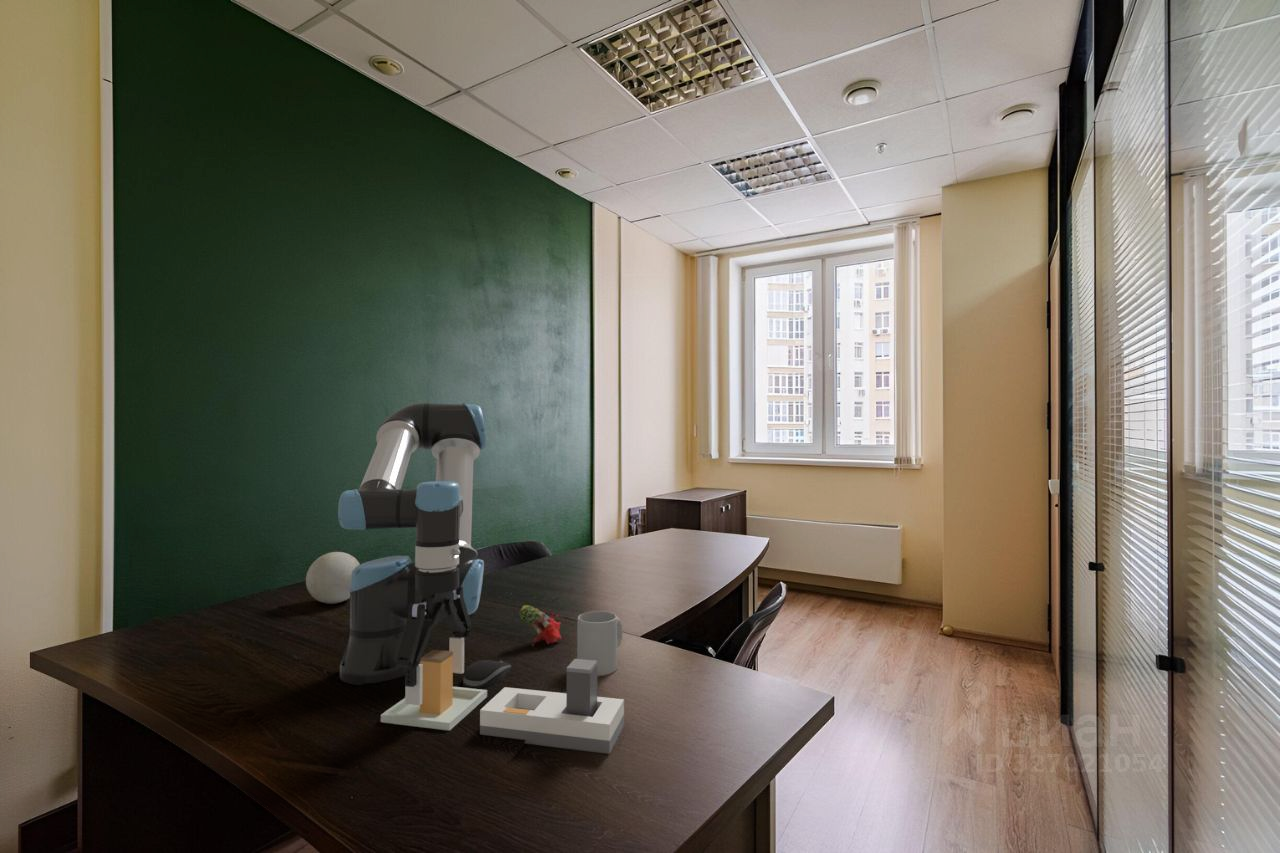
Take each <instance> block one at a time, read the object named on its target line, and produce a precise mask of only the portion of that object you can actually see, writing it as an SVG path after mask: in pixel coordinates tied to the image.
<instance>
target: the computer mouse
mask: <svg viewBox="0 0 1280 853" xmlns="http://www.w3.org/2000/svg"><path fill="white" fill-rule="evenodd" d="M511 669H512V665H511V664H510V663H508V662H504V661H503V660H502V659H500V660H499V661H497V660H489V659H485V660H478V661H475V662H473V663H471V664H470V665H469V666H468V667H467V669H466V670H465V671H464V674H463V675H464V676H463V679H462V685H463V686H464V688H472V689H482V688H486V687H490V686H492V685H494V684H495V683H497V682H499V681H501V680H502V679H503V678H504V677H505V676H506V675H507V674H508V673H510V670H511Z"/></svg>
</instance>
